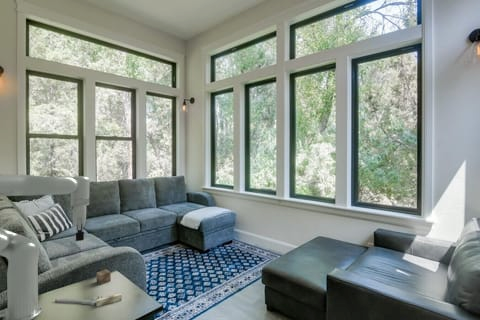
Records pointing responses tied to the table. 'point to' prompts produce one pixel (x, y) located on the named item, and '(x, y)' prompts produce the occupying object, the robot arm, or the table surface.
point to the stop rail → (109, 299)
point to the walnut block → (103, 277)
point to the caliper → (79, 301)
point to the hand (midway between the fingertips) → (79, 240)
